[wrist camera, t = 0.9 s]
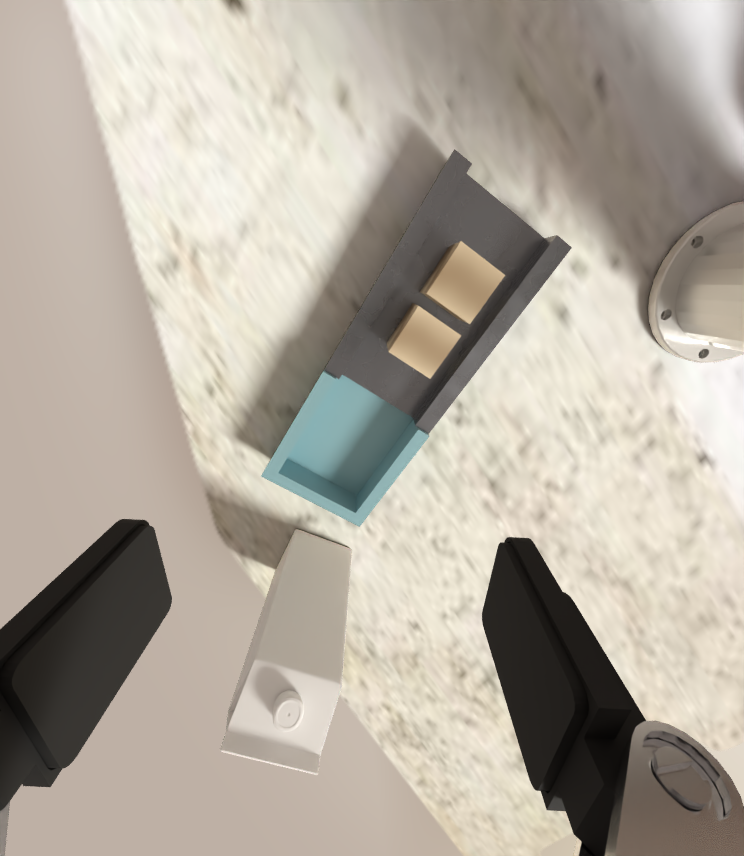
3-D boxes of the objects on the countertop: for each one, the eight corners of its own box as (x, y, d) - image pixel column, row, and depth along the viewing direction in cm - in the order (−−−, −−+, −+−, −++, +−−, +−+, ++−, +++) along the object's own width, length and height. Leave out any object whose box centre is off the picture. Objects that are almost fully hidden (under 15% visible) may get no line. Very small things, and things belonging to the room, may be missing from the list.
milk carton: (329, 588, 43) (300, 797, 26) (275, 569, 42) (206, 775, 24) (352, 548, 41) (337, 749, 23) (295, 527, 39) (235, 722, 22)
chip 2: (449, 246, 27) (461, 241, 24) (487, 276, 28) (505, 275, 25) (419, 292, 29) (426, 293, 25) (457, 319, 30) (469, 324, 26)
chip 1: (412, 302, 29) (418, 305, 25) (450, 329, 30) (461, 335, 26) (386, 343, 30) (388, 351, 27) (423, 367, 31) (430, 379, 28)
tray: (328, 362, 32) (323, 371, 29) (423, 421, 34) (429, 435, 31) (271, 458, 36) (261, 476, 33) (360, 506, 38) (359, 526, 35)
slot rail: (445, 163, 26) (454, 149, 23) (552, 250, 28) (571, 247, 26) (328, 362, 32) (323, 370, 29) (424, 421, 34) (428, 433, 32)
